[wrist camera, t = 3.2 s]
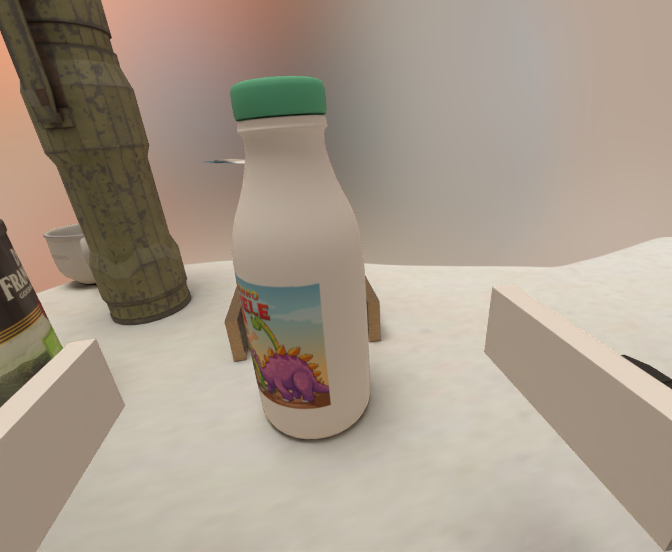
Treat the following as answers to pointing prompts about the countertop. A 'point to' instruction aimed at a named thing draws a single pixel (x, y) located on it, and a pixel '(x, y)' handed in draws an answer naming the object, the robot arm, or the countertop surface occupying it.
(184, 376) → the countertop surface
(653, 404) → the robot arm
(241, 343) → the dustpan
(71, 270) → the teacup
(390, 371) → the countertop surface
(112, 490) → the countertop surface
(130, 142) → the thermos
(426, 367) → the countertop surface
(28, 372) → the coffee can
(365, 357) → the milk bottle
